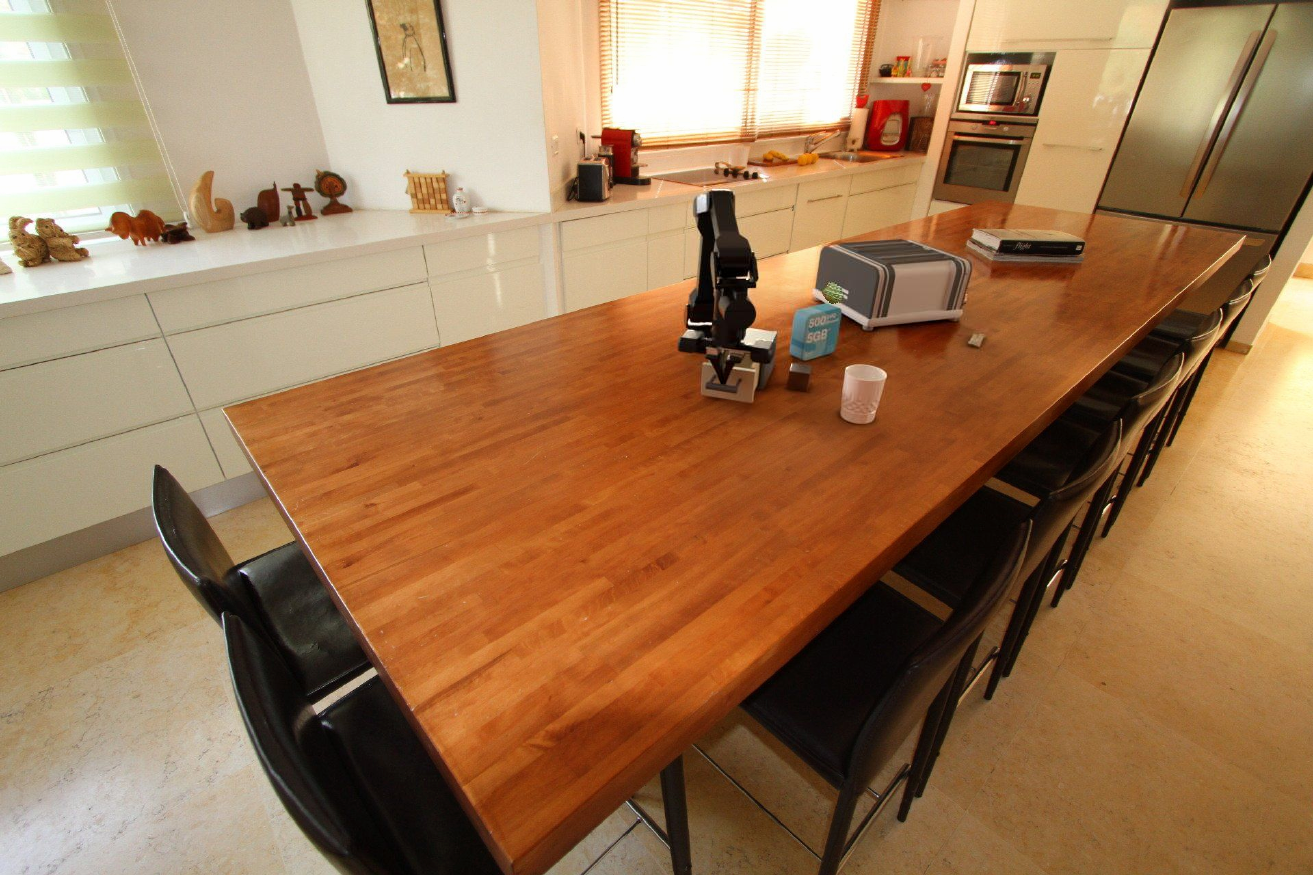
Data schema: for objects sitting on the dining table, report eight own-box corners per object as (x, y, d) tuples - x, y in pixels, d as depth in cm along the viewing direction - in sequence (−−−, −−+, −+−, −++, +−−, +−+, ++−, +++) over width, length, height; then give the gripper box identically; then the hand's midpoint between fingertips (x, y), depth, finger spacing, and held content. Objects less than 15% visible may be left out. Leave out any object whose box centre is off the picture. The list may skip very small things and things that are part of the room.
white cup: (856, 429, 118) (865, 383, 112) (829, 412, 124) (836, 368, 118) (885, 420, 121) (895, 376, 116) (857, 404, 127) (866, 361, 122)
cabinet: (762, 390, 132) (766, 352, 128) (708, 381, 136) (711, 345, 131) (773, 366, 143) (777, 331, 139) (723, 359, 147) (726, 325, 142)
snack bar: (980, 346, 153) (969, 340, 154) (976, 351, 154) (965, 345, 155) (986, 334, 160) (976, 329, 161) (982, 339, 161) (972, 333, 162)
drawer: (745, 415, 120) (748, 383, 117) (693, 406, 124) (694, 374, 120) (763, 379, 135) (766, 350, 131) (715, 372, 138) (717, 343, 135)
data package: (801, 362, 146) (807, 315, 140) (788, 356, 149) (794, 310, 143) (835, 352, 151) (843, 307, 145) (822, 346, 155) (829, 302, 148)
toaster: (971, 320, 172) (990, 258, 163) (865, 332, 164) (878, 267, 154) (905, 289, 198) (917, 234, 188) (810, 298, 189) (818, 241, 180)
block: (786, 388, 133) (789, 370, 131) (789, 380, 137) (792, 363, 134) (806, 392, 132) (809, 373, 129) (809, 383, 135) (812, 365, 133)
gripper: (784, 305, 117) (775, 376, 125) (694, 294, 123) (691, 363, 131) (774, 323, 108) (765, 399, 116) (677, 311, 114) (675, 384, 122)
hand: (723, 385), depth 122 cm, fingers closed
